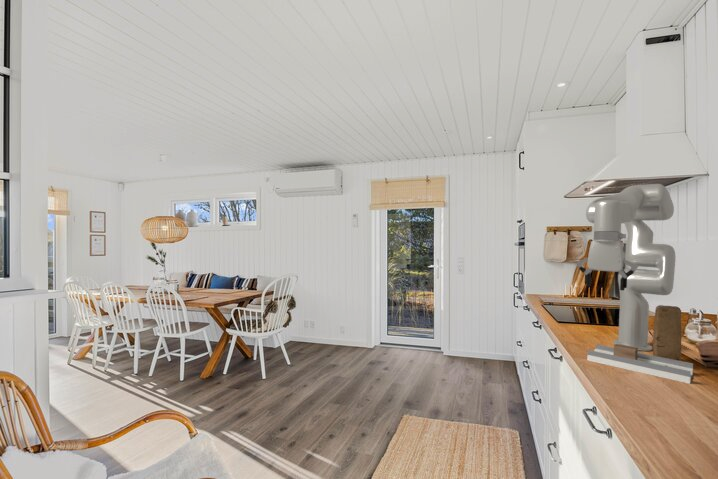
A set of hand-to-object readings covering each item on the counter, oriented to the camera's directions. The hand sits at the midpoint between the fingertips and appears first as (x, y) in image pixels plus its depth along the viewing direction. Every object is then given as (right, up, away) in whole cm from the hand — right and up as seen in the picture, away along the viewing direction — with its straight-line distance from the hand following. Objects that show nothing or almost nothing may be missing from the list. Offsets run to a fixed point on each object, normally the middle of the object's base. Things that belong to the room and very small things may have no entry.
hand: (604, 288), depth 124 cm
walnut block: (+9, -25, +3) cm, 26 cm away
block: (+26, -27, +6) cm, 38 cm away
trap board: (+12, -27, +1) cm, 29 cm away
